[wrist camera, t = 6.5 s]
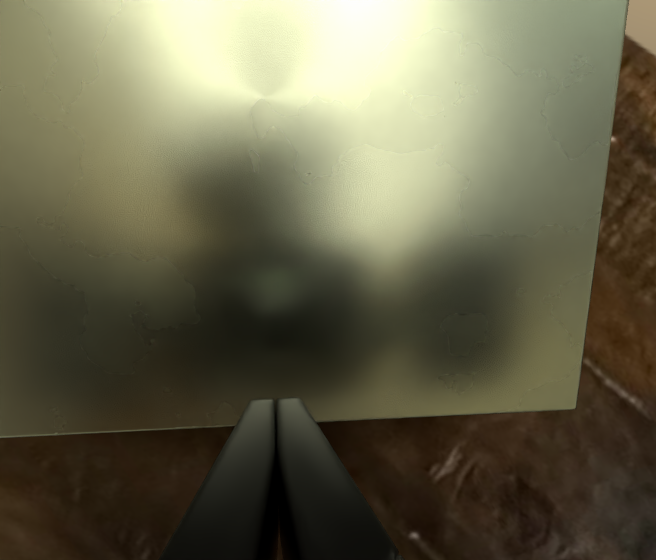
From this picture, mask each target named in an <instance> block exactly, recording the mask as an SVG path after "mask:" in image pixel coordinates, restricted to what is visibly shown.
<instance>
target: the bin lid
mask: <svg viewBox="0 0 656 560" xmlns="http://www.w3.org/2000/svg"><path fill="white" fill-rule="evenodd" d="M628 4H629V0H0V438H13V437H34V436H54V435H74V434H94V433H115V432H135V431H155V430H175V429H196V428H216V427H235V426H236V424H237V422H238V420H239V419H240V417H241V415H242V413H243V412H244V410H245V408H246V406H247V405H248V403H249V402H250V401H251V400H253V399H269V398H271V399H274V401H275V408H276V400H277V399H278V398H289V397H298V398H300V399H301V400H302V401H303V403H304V404H305V406H306V407H307V409H308V410H309V412H310V413H311V415H312V417H313V418H314V420H315V421H316V423H317V422H337V421H358V420H378V419H398V418H418V417H438V416H459V415H479V414H499V413H519V412H540V411H560V410H574V409H576V407H577V399H578V392H579V384H580V376H581V368H582V361H583V353H584V345H585V337H586V330H587V322H588V314H589V306H590V299H591V291H592V283H593V275H594V268H595V260H596V252H597V245H598V237H599V229H600V221H601V214H602V206H603V198H604V190H605V183H606V175H607V167H608V159H609V152H610V144H611V136H612V128H613V121H614V113H615V105H616V97H617V90H618V82H619V74H620V66H621V59H622V51H623V43H624V35H625V28H626V20H627V19H626V18H627V12H628Z"/></svg>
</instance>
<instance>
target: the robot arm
mask: <svg viewBox="0 0 656 560" xmlns="http://www.w3.org/2000/svg"><path fill="white" fill-rule="evenodd" d="M278 505H279V513H278ZM279 527H280V539H281V547H282V554H283V560H404V558H403V557H402V556H401V555H398V553H399V551H398V549H397V548H396V546H395V545H394V543H393V541H392V540H391V538H390V537H389V535H388V534H387V532H386V531H385V529H384V527H383V526H382V524H381V523H380V521H379V520H378V518H377V517H376V515H375V513H374V512H373V510H372V509H371V507H370V506H369V504H368V502H367V501H366V499H365V498H364V496H363V495H362V493H361V492H360V490H359V488H358V487H357V485H356V484H355V482H354V481H353V479H352V477H351V476H350V474H349V473H348V471H347V470H346V468H345V467H344V465H343V463H342V462H341V460H340V459H339V457H338V456H337V454H336V453H335V451H334V449H333V448H332V446H331V445H330V443H329V442H328V440H327V438H326V437H325V435H324V434H323V432H322V431H321V429H320V428H319V426H318V424H317V423H316V421H315V420H314V418H313V417H312V415H311V413H310V412H309V410H308V409H307V407H306V406H305V404H304V403H303V401H302V400H301V399H300V398H298V397H289V398H278V399H277V400H276V408H275V401H274V399H271V398H269V399H253V400H251V401H250V402H249V403H248V405H247V406H246V408H245V410H244V412H243V413H242V415H241V417H240V419H239V420H238V422H237V424H236V426H235V427H234V429H233V431H232V432H231V434H230V436H229V438H228V439H227V441H226V443H225V445H224V446H223V448H222V450H221V452H220V453H219V455H218V457H217V459H216V460H215V462H214V464H213V466H212V467H211V469H210V471H209V473H208V474H207V476H206V478H205V480H204V481H203V483H202V485H201V486H200V488H199V490H198V492H197V493H196V495H195V497H194V499H193V500H192V502H191V504H190V506H189V507H188V509H187V511H186V513H185V514H184V516H183V518H182V520H181V521H180V523H179V525H178V527H177V528H176V530H175V532H174V534H173V535H172V537H171V539H170V540H169V542H168V544H167V546H166V547H165V549H164V551H163V553H162V554H161V556H160V558H159V560H276V559H277V549H278V534H279Z"/></svg>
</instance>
